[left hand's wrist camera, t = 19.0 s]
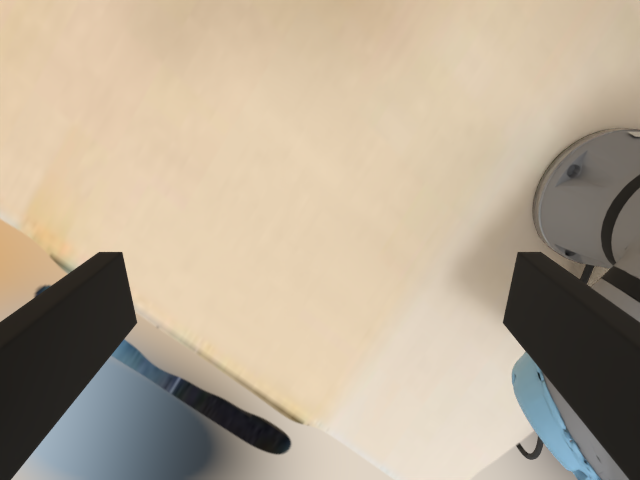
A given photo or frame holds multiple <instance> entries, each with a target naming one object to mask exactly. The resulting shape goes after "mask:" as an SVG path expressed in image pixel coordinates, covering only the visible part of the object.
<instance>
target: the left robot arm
mask: <svg viewBox="0 0 640 480" xmlns="http://www.w3.org/2000/svg"><path fill="white" fill-rule="evenodd" d="M533 219H534V224H535V227H536V230H537V232H538V234H539V236H540V238H541V239H542V240H543V242H544V243H545V244H546V245H547V246H548V247H550V248H551V249H552V250H554V251H555V252H557V253H558V254H560V255H561V256H563V257H565V258H567V259H570V260H573V261H575V262H579V263H583V264H586V266H585V269H584V271H583V274H582V276H581V278H580V279H578V278H577V277H575V276H574V275H572V274H571V273H570V272H568V271H567V270H565V269H564V268H563V267H561V266H560V265H558V264H557V263H556V262H554V261H553V260H551V259H550V258H548V257H547V256H546V255H544V254H543V253H541V252H518V254H517V258H516V263H515V268H514V273H513V277H512V282H511V287H510V291H509V296H508V301H507V306H506V310H505V315H504V320H503V324H504V325H505V326H506V327H507V329H508V330H509V331H510V332H511V333H512V335H513V336H514V337H515V338H516V340H517V341H518V342H519V343H520V345H521V346H522V347H523V348H524V350H525V351H526V352H525V353H524V354H523V356H522V357H521V358H520V359H519V360H518V361H517V362H516V364H515V365H514V367H513V370H512V384H513V387H514V393H515V395H516V398H517V400H518V403H519V405H520V407H521V409H522V411H523V413H524V414H525V416H526V418H527V419H528V421H529V423H530V424H531V426H532V427H533V429H534V430H535V432H536V433H537V435H538V441H537V445H536V448H535V450H534V452H533V453H531V454H529V453H527V452H526V451H525V450H524V448H523V447H522V446H521V444H520V443H518V444H517V445H516V447H517V448H518V450H519V451H520V452H521V454H522V455H523V456H524V457H526V458H527V459H530V460H533V459H536V458H537V457H538V456H539V455H540V453H541V450H542V447H543V443H544V444H545V445H546V447H547V448H548V449H549V450H550V452H551V453H552V454H553V455H554V456H555V458H556V459H557V460H558V461H559V462H560V463H561V464H562V465H563V466H564V467H565V468H566V469H567V470H568V471H572V472H573V473H574V475H575V476H576V478H577V479H578V480H640V130H635V129H626V128H616V129H608V130H603V131H599V132H596V133H593V134H590V135H588V136H586V137H584V138H582V139H580V140H578V141H577V142H575V143H574V144H572V145H571V146H569V147H568V148H567V149H565V150H564V151H563V152H562V153H561V154H560V155H559V156H558V157H557V158H556V159H555V160H554V161H553V162H552V163H551V165H550V166H549V167H548V169H547V170H546V172H545V173H544V175H543V177H542V178H541V180H540V182H539V185H538V187H537V190H536V193H535V197H534V202H533ZM594 266H599V267H605V268H610V270H609V271H608V272H607V273H606V274H605V275H604V276H603V277H601V278H600V279H599V280H598V281H597V282H596V283H595V284H594V285H593V286H592V287H589V286H588V285H587V282H588V280H589V277H590V275H591V273H592V270H593V268H594ZM136 323H137V320H136V315H135V310H134V306H133V301H132V296H131V291H130V287H129V282H128V277H127V273H126V268H125V263H124V258H123V254H122V252H99V253H97V254H96V255H94V256H93V257H92V258H90V259H89V260H87V261H86V262H84V263H83V264H82V265H80V266H79V267H77V268H76V269H75V270H73V271H72V272H70V273H69V274H68V275H66V276H65V277H63V278H62V279H60V280H59V281H58V282H56V283H55V284H53V285H52V286H51V287H49V288H48V289H46V290H45V291H44V292H42V293H41V294H39V295H38V296H37V297H35V298H34V299H32V300H31V301H29V302H28V303H27V304H25V305H24V306H22V307H21V308H20V309H18V310H17V311H15V312H14V313H13V314H11V315H10V316H8V317H7V318H6V319H4V320H3V321H1V322H0V480H11V479H12V478H13V476H14V475H15V474H16V473H17V471H18V470H19V469H20V468H21V466H22V465H23V464H24V463H25V461H26V460H27V459H28V458H29V456H30V455H31V454H32V453H33V451H34V450H35V449H36V448H37V447H38V445H39V444H40V443H41V441H42V440H43V439H44V438H45V437H46V435H47V434H48V433H49V432H50V430H51V429H52V428H53V427H54V425H55V424H56V423H57V422H58V420H59V419H60V418H61V417H62V415H63V414H64V413H65V412H66V410H67V409H68V408H69V407H70V406H71V404H72V403H73V402H74V401H75V399H76V398H77V397H78V396H79V394H80V393H81V392H82V391H83V389H84V388H85V387H86V386H87V384H88V383H89V382H90V381H91V379H92V378H93V377H94V376H95V374H96V373H97V372H98V371H99V370H100V368H101V367H102V366H103V365H104V363H105V362H106V361H107V360H108V358H109V357H110V356H111V355H112V353H113V352H114V351H115V350H116V348H117V347H118V346H119V345H120V343H121V342H122V341H123V340H124V338H125V337H126V336H127V335H128V333H129V332H130V331H131V330H132V329H133V327H134V326H135V325H136Z"/></svg>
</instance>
